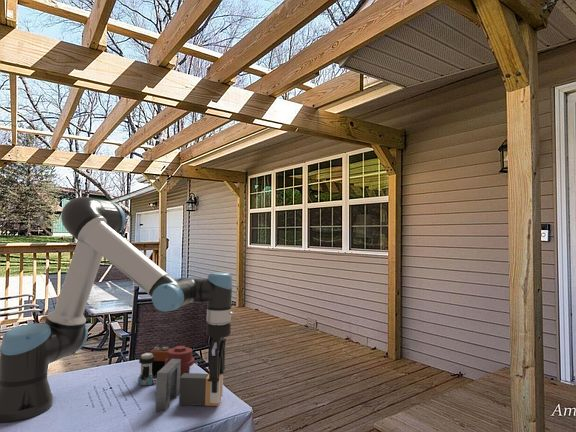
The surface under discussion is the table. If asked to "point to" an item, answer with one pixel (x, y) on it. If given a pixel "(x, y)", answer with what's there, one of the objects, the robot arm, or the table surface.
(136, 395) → the table surface
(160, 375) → the grey piece
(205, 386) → the grey and orange block
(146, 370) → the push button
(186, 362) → the mechanical component
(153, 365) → the battery
